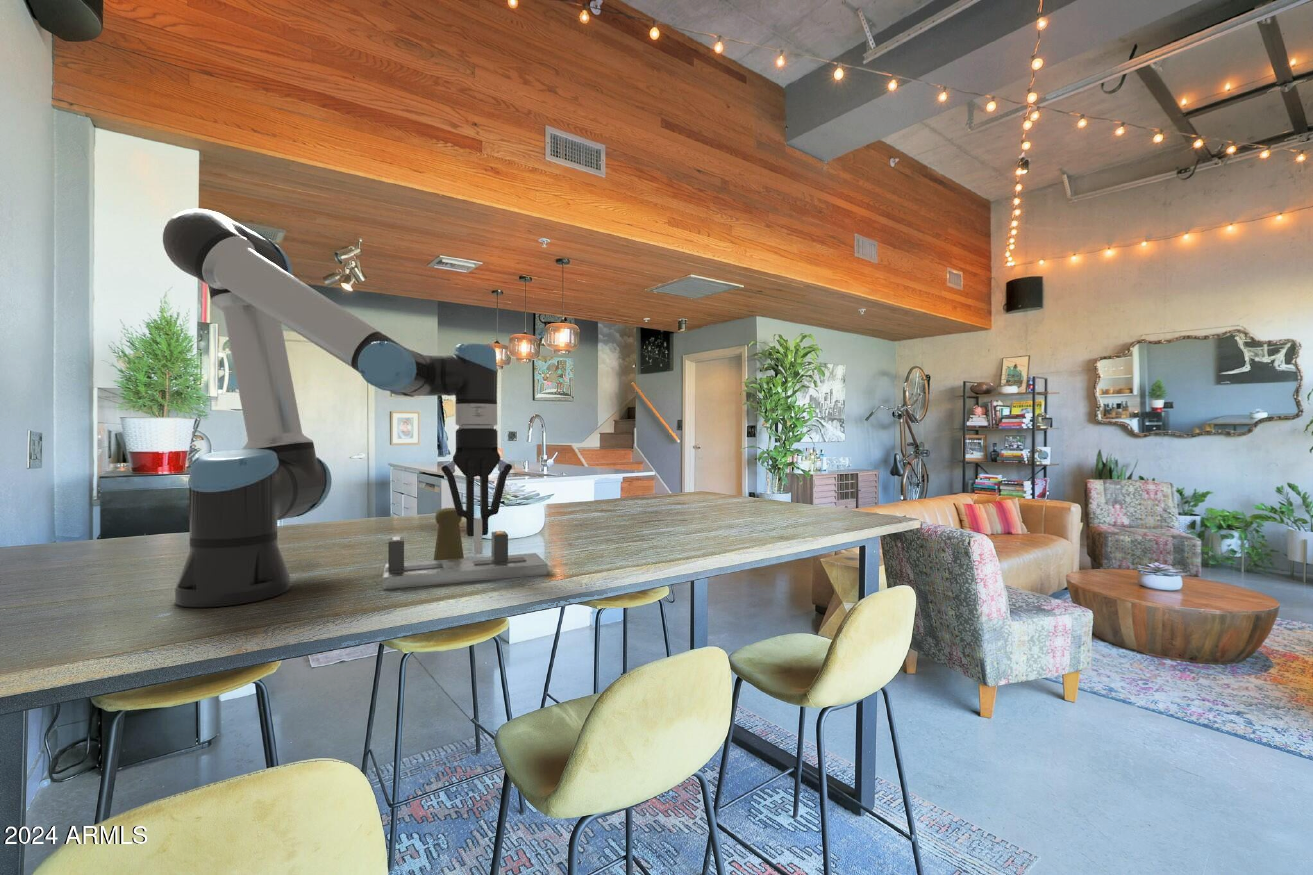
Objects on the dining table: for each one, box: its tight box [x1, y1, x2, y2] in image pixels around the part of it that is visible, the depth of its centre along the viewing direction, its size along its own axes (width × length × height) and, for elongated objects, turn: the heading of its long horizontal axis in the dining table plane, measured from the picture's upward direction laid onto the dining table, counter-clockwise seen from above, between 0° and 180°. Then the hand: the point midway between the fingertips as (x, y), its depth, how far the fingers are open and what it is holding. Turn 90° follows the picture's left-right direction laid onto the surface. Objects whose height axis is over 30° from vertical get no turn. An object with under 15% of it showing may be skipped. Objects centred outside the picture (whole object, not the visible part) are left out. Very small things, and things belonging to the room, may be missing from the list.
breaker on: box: [387, 536, 405, 571], centre depth 105 cm, size 2×4×5 cm, turn 23°
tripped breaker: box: [490, 530, 509, 562], centre depth 112 cm, size 2×4×5 cm, turn 23°
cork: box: [433, 507, 465, 561], centre depth 121 cm, size 6×6×11 cm
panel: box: [382, 552, 549, 590], centre depth 110 cm, size 28×11×2 cm, turn 113°
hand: (477, 553), depth 110 cm, fingers closed
